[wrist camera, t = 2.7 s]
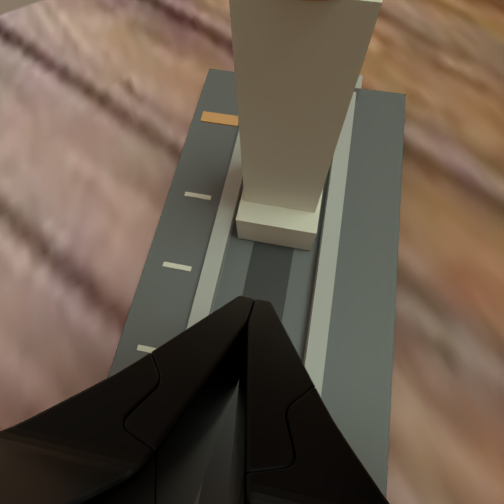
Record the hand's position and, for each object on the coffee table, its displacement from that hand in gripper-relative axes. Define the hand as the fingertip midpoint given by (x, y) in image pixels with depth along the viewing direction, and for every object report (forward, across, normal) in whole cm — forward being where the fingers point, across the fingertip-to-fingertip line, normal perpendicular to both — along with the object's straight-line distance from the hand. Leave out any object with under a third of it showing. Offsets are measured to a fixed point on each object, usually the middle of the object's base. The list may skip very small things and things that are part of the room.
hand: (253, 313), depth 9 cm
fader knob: (+10, 0, 0) cm, 10 cm away
